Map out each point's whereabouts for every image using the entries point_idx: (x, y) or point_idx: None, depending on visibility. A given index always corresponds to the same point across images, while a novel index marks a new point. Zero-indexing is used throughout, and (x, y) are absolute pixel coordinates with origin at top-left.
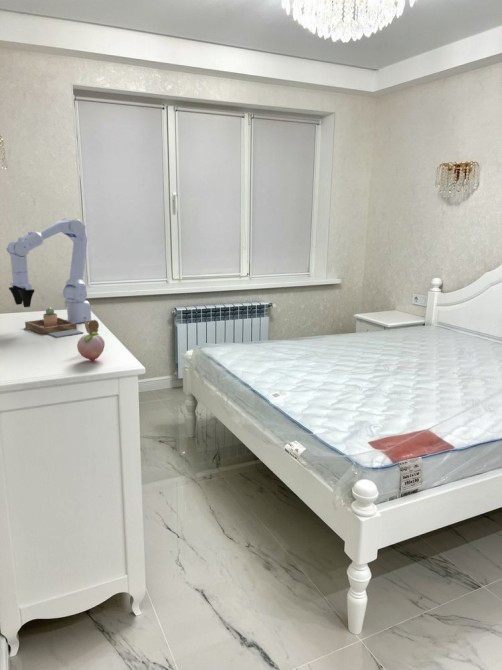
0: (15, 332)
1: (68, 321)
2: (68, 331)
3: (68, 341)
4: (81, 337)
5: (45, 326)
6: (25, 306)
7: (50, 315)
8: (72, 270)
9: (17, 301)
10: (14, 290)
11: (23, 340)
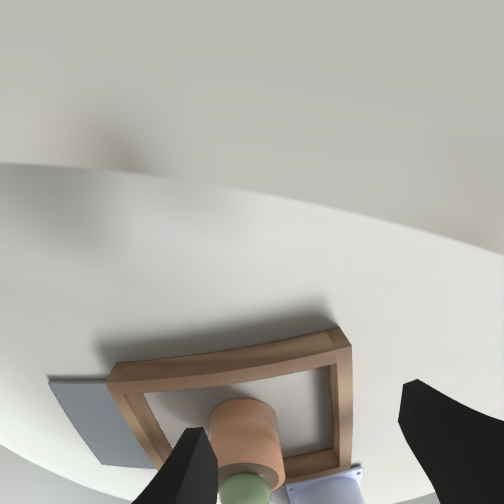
0: (238, 251)
1: None
2: (125, 445)
3: (4, 382)
4: None
5: (228, 412)
6: (183, 439)
7: None
8: None
9: (417, 413)
10: (497, 493)
11: (34, 250)
